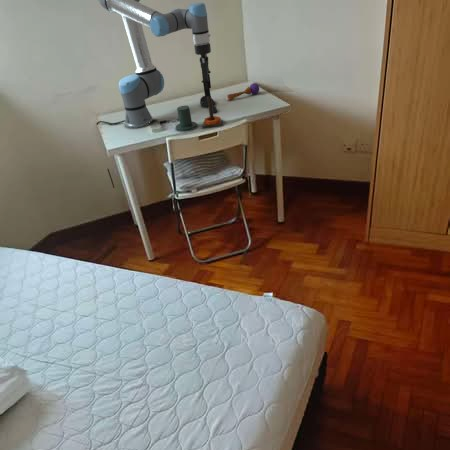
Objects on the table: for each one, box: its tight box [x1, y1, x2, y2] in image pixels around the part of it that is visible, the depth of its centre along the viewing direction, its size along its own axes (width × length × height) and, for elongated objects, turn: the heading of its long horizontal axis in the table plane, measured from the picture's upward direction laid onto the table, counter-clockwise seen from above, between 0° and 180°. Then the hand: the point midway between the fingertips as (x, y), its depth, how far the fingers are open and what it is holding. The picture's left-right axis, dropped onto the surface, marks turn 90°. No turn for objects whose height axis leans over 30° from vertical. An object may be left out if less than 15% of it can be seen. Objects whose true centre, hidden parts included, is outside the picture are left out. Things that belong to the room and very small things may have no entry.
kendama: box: [226, 82, 260, 102], centre depth 246 cm, size 6×6×20 cm
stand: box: [175, 105, 198, 132], centre depth 216 cm, size 11×11×10 cm
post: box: [203, 95, 222, 129], centre depth 214 cm, size 9×9×14 cm
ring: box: [203, 115, 221, 125], centre depth 217 cm, size 8×8×2 cm
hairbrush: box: [199, 94, 218, 114], centre depth 239 cm, size 8×4×25 cm
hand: (208, 92), depth 208 cm, fingers open, 13 cm apart
